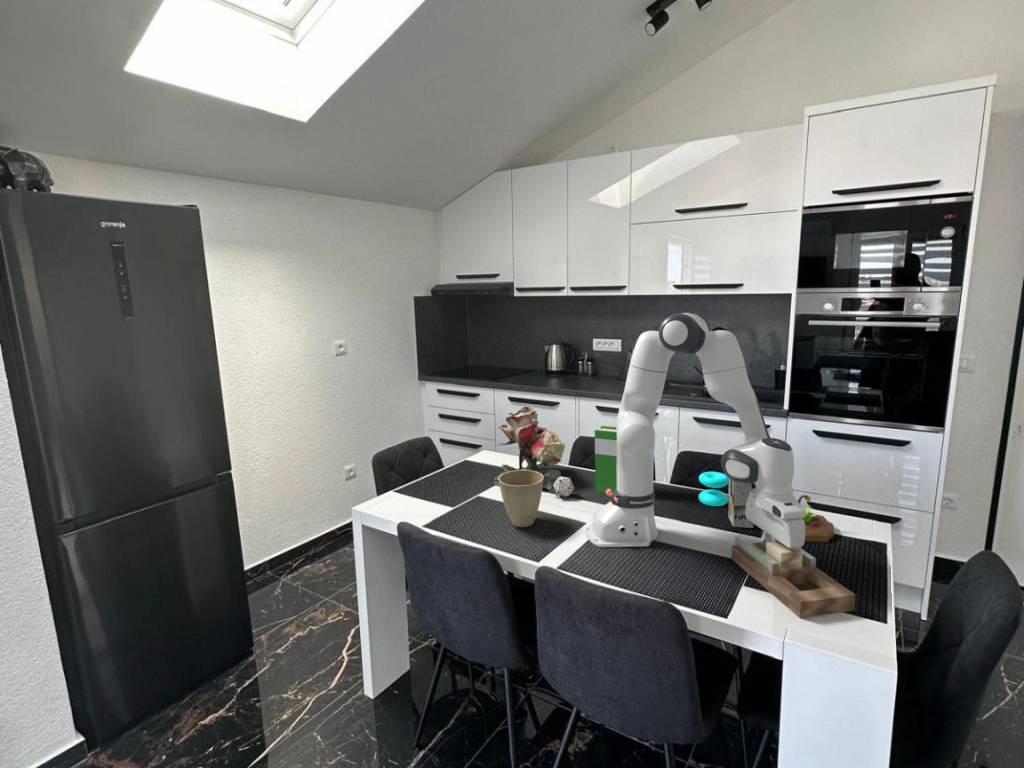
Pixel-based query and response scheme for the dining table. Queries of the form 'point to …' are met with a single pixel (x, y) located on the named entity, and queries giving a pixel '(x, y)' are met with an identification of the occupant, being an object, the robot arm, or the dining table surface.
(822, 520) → the plant
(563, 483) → the game die
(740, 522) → the coffee box
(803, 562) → the lane walls
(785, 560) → the maple block
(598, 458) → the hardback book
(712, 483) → the donuts
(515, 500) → the plant pot
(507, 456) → the dining table surface
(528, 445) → the rose bouquet
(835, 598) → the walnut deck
